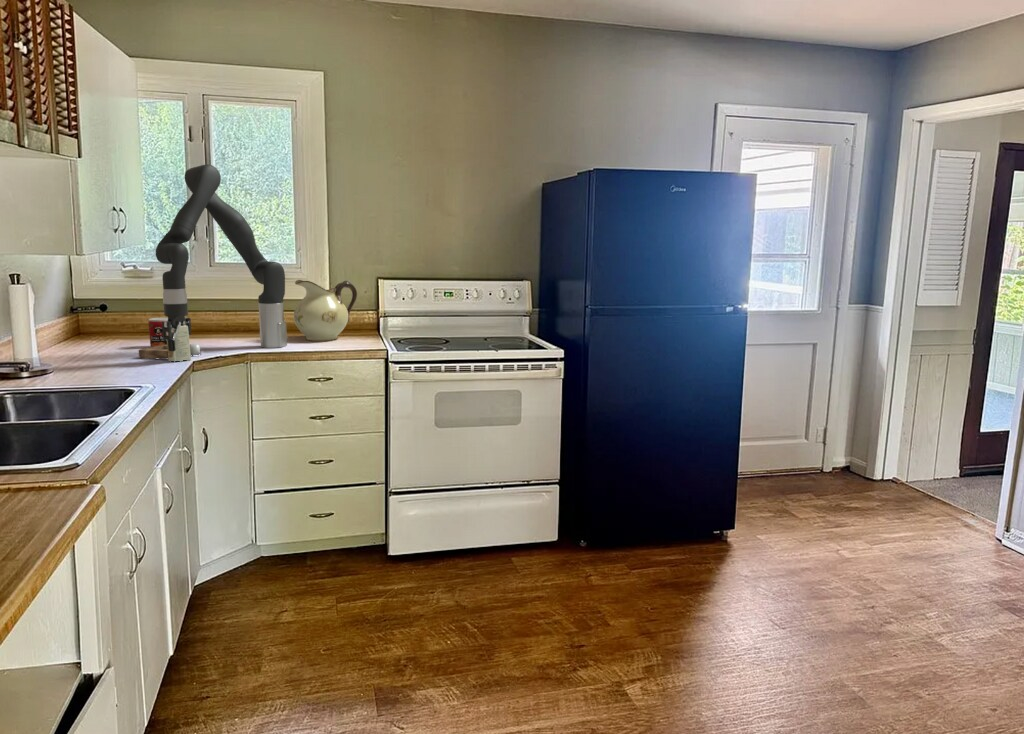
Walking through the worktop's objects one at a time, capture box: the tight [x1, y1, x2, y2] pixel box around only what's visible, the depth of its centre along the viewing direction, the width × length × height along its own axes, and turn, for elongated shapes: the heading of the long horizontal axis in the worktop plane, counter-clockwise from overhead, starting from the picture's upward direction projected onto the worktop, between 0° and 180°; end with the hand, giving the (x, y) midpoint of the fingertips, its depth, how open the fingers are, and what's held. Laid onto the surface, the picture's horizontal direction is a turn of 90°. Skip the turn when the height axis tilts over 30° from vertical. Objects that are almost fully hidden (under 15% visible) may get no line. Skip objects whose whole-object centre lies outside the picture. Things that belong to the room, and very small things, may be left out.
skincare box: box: [166, 325, 192, 362], centre depth 260 cm, size 6×4×12 cm
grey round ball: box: [190, 343, 201, 355], centre depth 272 cm, size 4×4×4 cm
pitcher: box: [293, 279, 358, 342], centre depth 317 cm, size 22×24×25 cm
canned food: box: [148, 317, 168, 347], centre depth 292 cm, size 8×8×11 cm
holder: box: [138, 344, 168, 359], centre depth 271 cm, size 13×14×3 cm
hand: (178, 349), depth 260 cm, fingers closed on skincare box, 7 cm apart
